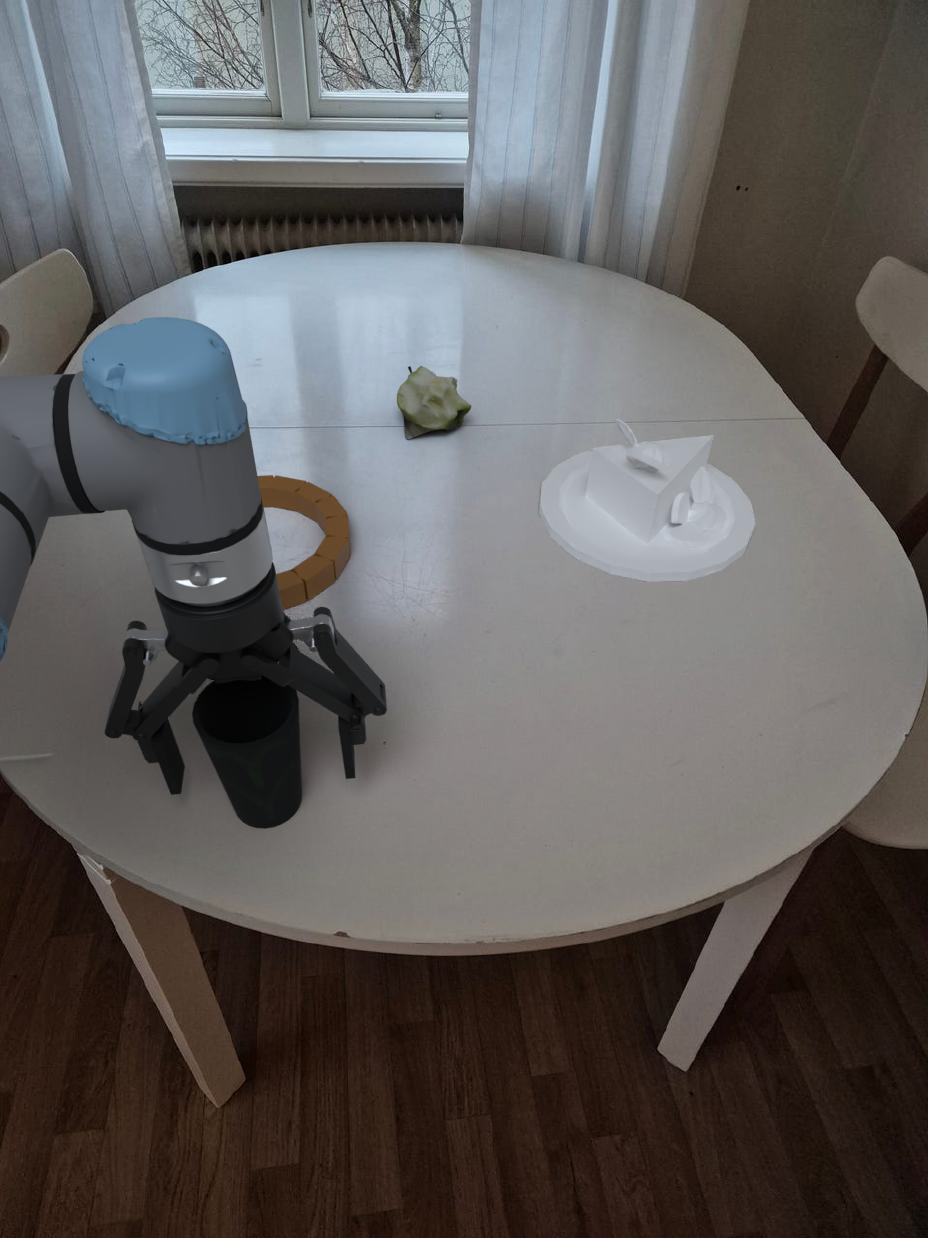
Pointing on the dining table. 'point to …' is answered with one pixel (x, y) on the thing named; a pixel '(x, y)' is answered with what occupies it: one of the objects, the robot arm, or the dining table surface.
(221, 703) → the cup
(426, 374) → the fruit
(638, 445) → the dish
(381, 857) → the dining table surface
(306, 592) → the orange-brown segmented ring
